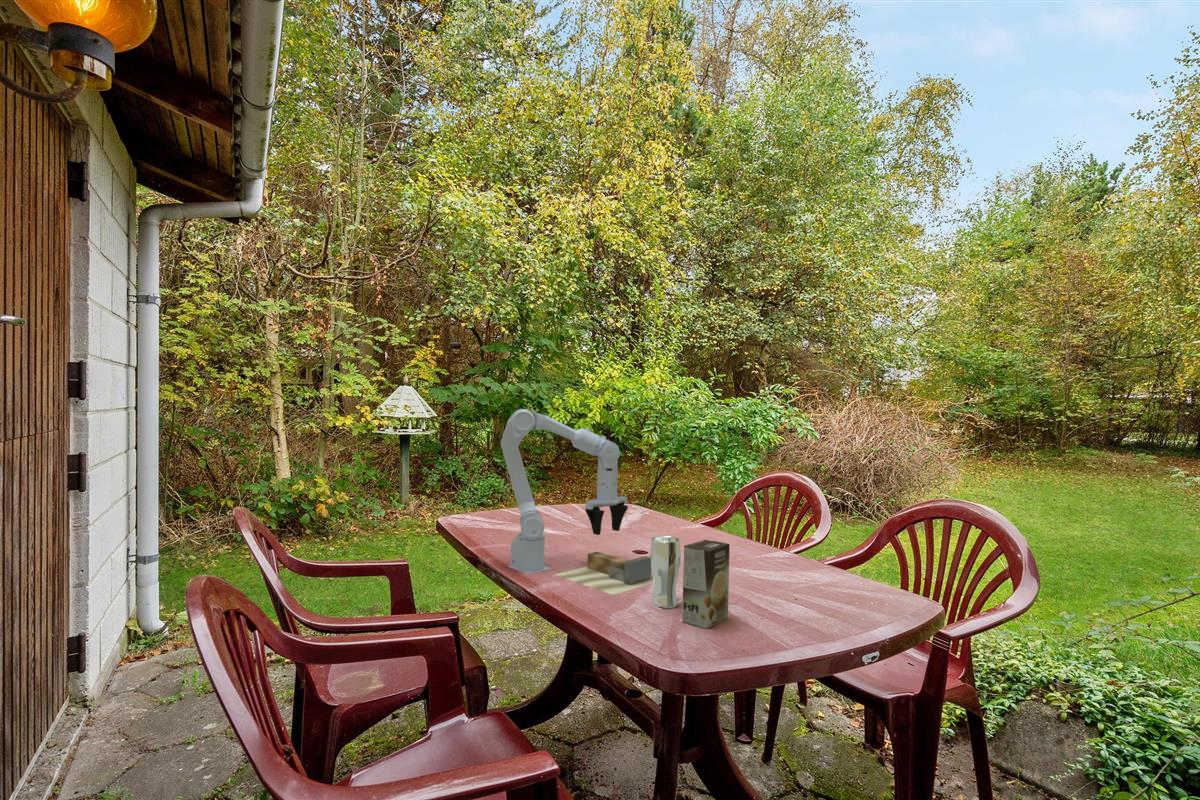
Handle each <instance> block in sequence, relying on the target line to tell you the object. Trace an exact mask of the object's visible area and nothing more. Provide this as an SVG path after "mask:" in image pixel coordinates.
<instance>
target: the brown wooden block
mask: <svg viewBox="0 0 1200 800" xmlns="http://www.w3.org/2000/svg"><path fill="white" fill-rule="evenodd" d="M629 560H630V559H625V558H622V557H618V556H615V555H614V556H613V555H610V554H607V553H603V552H599V551H595V552H594V551H593V552H590V553H587V566H588V569H591V570H594V571H598V572H601V573H604V574H607V575H609V566H611V565H612V566H615V567H619V568H622V569H624V567H625V561H629Z"/></svg>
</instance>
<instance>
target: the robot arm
mask: <svg viewBox="0 0 1200 800" xmlns="http://www.w3.org/2000/svg"><path fill="white" fill-rule="evenodd" d="M533 429H534V430H535V431H537V430H538V431H541V430H547V431H549V432H552V433H553V434H555V435H559V436H560V437H563V438H564V439H565V438H566V439H568V440H570V441H571V444H572V446H573V448H576V449H577V450H580V451H582V452H585V453H586V454H588V455H591V456H593V457H594V456H596V457H597V467H596V468H597V473H596V474H597V475H596V477H597V478H596V498H595V499H591V500H587V501H585V514H586V515H587V516H588V517H587V518H588V519H589V522H590V525H591V529H592V534H593V535H596V536H600V535H601V533H602V532H601V531H602V521H603V516H604V514H605V510H602V509H601V508H606V507H609V510H610V514H611V517H610V518H611V529H612V531H615V532H619V531H620V529H621V525H622V522H623V518H624V515H625V514H626V512H627V510H628V507H629V506H628V505H627V504H628V497H626V496H618V481H619V480H618V474H619V473H618V469H619V468H618V463H619V461H618V459H620V456H621V451H620V448H619V446H618V445H617V443H615V442H613V441H610V439H607V437H606V436H604V435H602V436H601V435H598V434H596V433H594V432H591V431H592V429H591V428H589V427H586V428H583V427H581V428H579V429H574V428H572V427H570V426H568V425H566V424H564V423H561V422H560V421H558V420H556V419H555V418H551V417H550V416H548V415H547V414H542V413H538V412H535V411H530V410H529V409H526V408H519V409H517V410H515V411H514V412H513V414H511V416H510V417H509V418H508V420H507V422H506V425H505V429H504V431H503V435H502V438H501V440H500V447H501V451H502V454H503V457H504V462H505V465H506V468H507V471H508V475H509V479H510V483H511V485H512V490H513V493H514V497H515V500H516V503H517V507H518V511H519V514H520V517H519V524H520V533H518V534H517V535H516V536H514V537H513V538H512V541H511V543H510V565H508V566H507V567H509V568H512V569H513V570H517V571H519V572H521V573H525V574H534V573H538V572H541V571H547V570H549V569H552V568H551V567H549V566H547V565H545V544H546V541H545V540H546V537H545V536H546V535H545V534H544V531H545V523H544V521H543V517H542V515H541V513H540V512H539V511H538V510H537V508H536V504H535V501H534V497H533V494H532V489H531V487H530V483H529V481H528V479H529V478H528V476H527V472H526V469H525V466H524V462H523V458H522V455H521V452H520V448H519V446H520V444H521V442H522V441H523V439H524V437H525V436H526V435H527V434H529V432H531V431H532V430H533Z"/></svg>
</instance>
